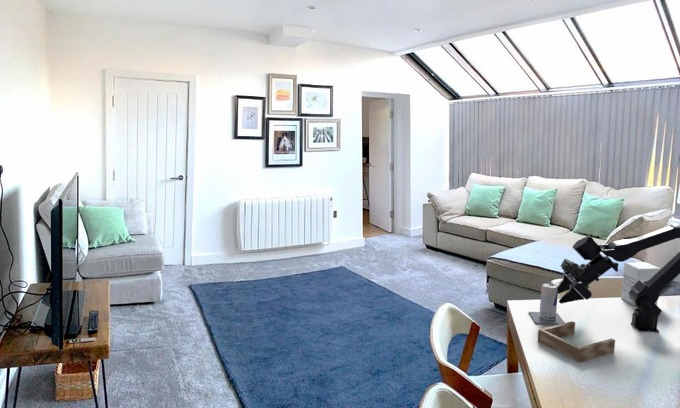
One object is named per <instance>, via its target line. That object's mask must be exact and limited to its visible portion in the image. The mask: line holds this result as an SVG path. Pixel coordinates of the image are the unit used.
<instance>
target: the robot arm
mask: <svg viewBox="0 0 680 408" xmlns="http://www.w3.org/2000/svg"><path fill="white" fill-rule="evenodd" d="M676 239H680V224H677V223H672V224H670V225H668V226H665V227H663V228H660V229H656V230H654V231H652V232H648V233H646V234H643V235H640V236H637V237H634V238H633V237H632V238H630V239H629V238H626V239H625V238H622V239H618V240H614V241H610V242H609V243H605V244H604V243H603V244H598V243H597V242H596V241H595V240H594V238H593V237H592V236H590V235H587V236H585V237H582V238H581V239H578V240H577V241H575V243H574V244H573V245H572V249H573V250H574V251H575V252H576V253H577V254H578V255H579V256H580V257H581V258H582V259H583V261H589V262H587V263H586V264H585V263H581V264H578V263H575V262H574V261H572V260H569V259H568V258H564V259H563V260H562V262H561V264H560V267H561V269H562V270H563V273H562V280H561V282H560V283H559V285H557V286H558V295H559V294H561V293H565V294H564V295H563V296H561V298H559V300H558V302H559V304H562V305H563V304H566V303H570V302H575V301H581V300H583V301H584V300H586V301H588V300H589V299H590V298H592V295H593V293H592V291H591V290H590V285H591V284H592V283H593V282H595V281H596V282H599V281H600V278H601V276H603V275H604V274H605V273H607V272H609V270H611V269H613V270H614V271H615V272H617V273H618V272H619V263H618V262H620V263H622V262H623V263H624V262H625V261H628V260H630V259H632V258H633V257H635V256H636V255H638V253H640V252H642V251H644V250H647V249H650V248H652V247H656V246H659V245H661V244H665V243H667V242H671V241H674V240H676ZM601 253H602V254H604V255H605V256H603V255H602V254H601ZM611 258H612V259H613V260H614V261H613V260H612V259H611ZM679 275H680V251H679V252H677V254H675V255H674V256H673V257H672V258H671V259H670V260H668V262H667V263H666V264H665V265H664V266H663V267H662V268H661V270H659V271H658V272H657V273H656V274H655V275H654V276H653V277H652V278H651V279H650V280H648V281H646V282H642V281H640V280H639V281H637V283H636V284H635V285H634V286H633V287H630V288H631V290H630V292H629V298H630V300H631V301H632V302H633V303H634V305H635V306H634V305H633V306H634V307H635V308H634V312H633V313H632V317H631V322H630V325H631V326H632V327H634V329H635V330H637V331H638V332H648V333H650V332H651V333H660V330H659V329H658V320H659V317H660V315H661V313H662V309H661V308H660V307H659V306H658V304H657V305H656V304H655V303H656V301H657V300H659V297H660V296H661V293H662V291H663V290H664V289H665V288H666V287H667V286H668V285H669V284H670V283H672V282H673V281H674V280H675V279H676V278H677V277H678V276H679Z"/></svg>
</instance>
